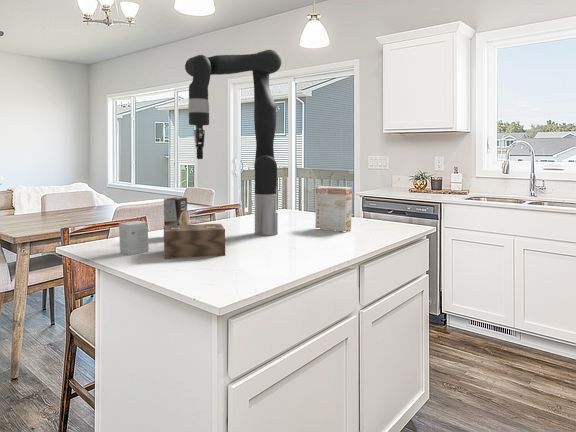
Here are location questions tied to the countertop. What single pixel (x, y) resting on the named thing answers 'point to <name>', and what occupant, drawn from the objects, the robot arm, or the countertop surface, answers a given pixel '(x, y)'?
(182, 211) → the coffee box
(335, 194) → the coffeecake box
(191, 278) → the countertop surface
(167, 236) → the walnut block
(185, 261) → the countertop surface
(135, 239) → the small box
